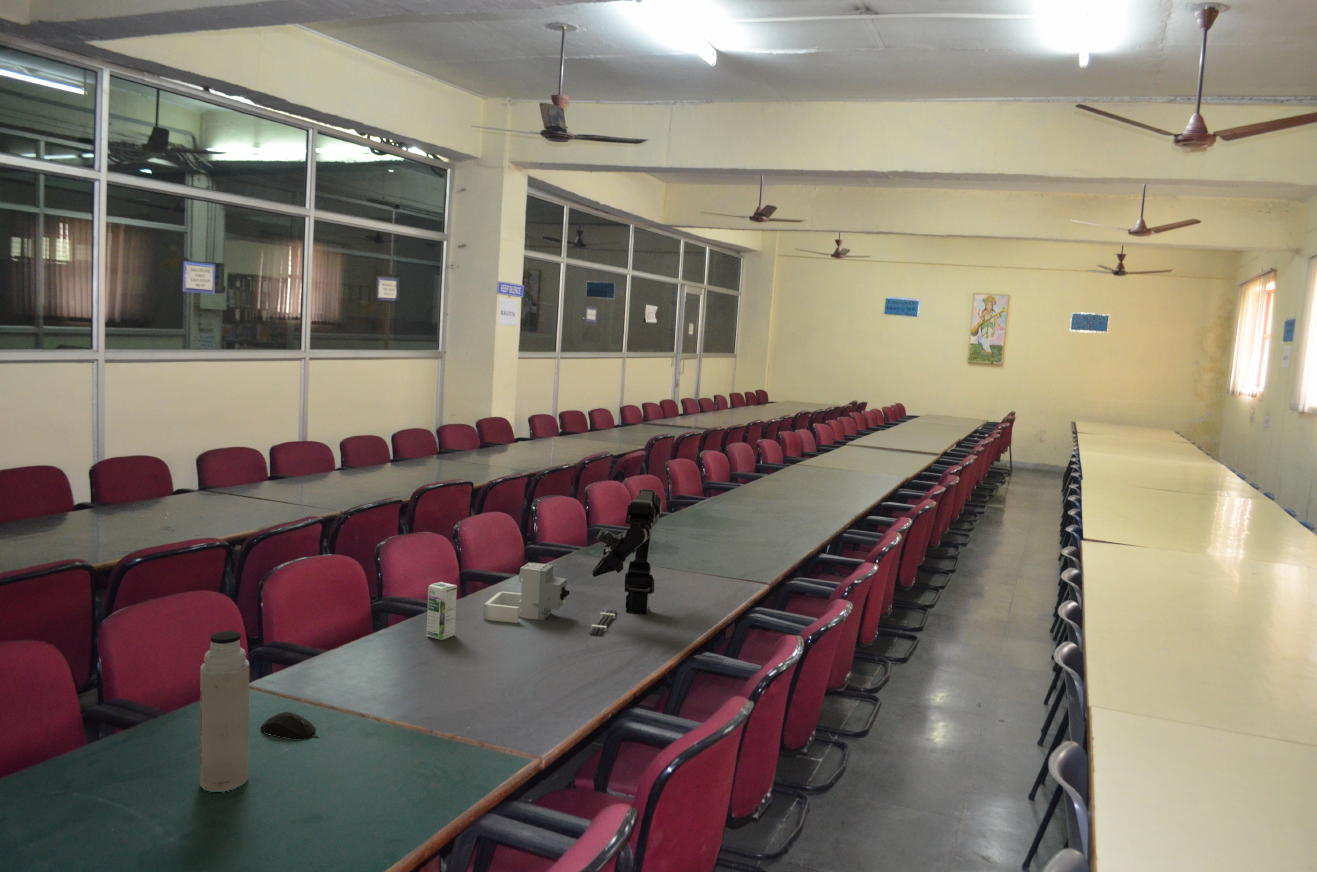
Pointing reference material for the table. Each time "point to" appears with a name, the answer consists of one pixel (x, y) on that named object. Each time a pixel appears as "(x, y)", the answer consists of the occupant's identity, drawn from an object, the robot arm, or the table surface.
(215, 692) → the thermos bottle
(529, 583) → the circuit breaker
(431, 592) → the syrup box
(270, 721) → the gaming mouse
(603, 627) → the dressed cords
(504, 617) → the mounting bay
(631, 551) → the robot arm
